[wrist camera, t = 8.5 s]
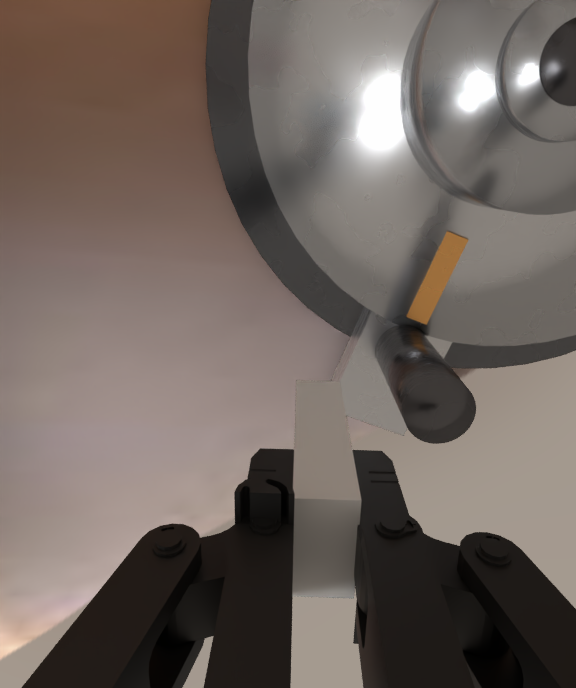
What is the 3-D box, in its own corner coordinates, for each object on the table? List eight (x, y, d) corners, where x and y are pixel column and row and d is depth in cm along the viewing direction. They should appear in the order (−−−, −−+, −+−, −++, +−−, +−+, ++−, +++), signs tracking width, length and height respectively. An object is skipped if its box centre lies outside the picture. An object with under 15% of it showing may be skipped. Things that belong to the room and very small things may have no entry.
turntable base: (314, 424, 27) (315, 429, 26) (105, -147, 19) (100, -155, 19) (826, 270, 24) (837, 273, 23) (829, -484, 16) (845, -504, 15)
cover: (425, 235, 21) (459, 251, 17) (374, -4, 18) (399, -59, 14) (646, 169, 20) (742, 168, 16) (628, -94, 17) (738, -184, 13)
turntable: (339, 434, 26) (358, 543, 18) (149, -110, 19) (46, -312, 11) (798, 298, 23) (1048, 359, 16) (788, -399, 16) (1252, -937, 8)
